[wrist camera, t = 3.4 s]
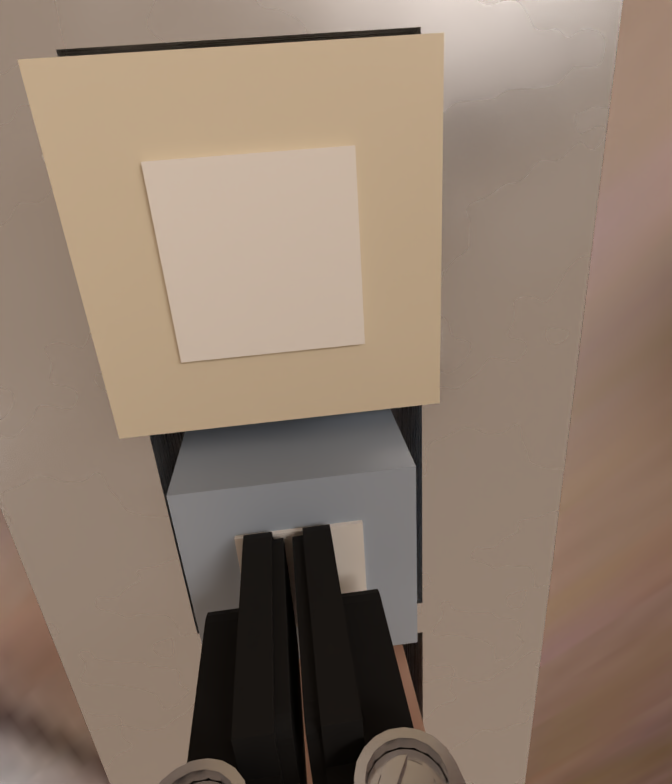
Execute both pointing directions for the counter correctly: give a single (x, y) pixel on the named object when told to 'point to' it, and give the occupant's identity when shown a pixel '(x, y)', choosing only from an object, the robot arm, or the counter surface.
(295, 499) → the key
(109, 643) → the keyguard pad
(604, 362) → the counter surface
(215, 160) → the key
